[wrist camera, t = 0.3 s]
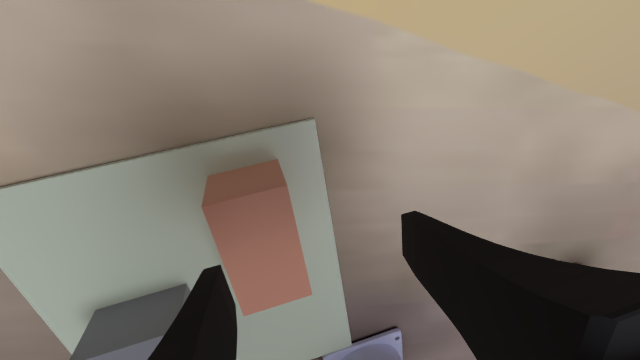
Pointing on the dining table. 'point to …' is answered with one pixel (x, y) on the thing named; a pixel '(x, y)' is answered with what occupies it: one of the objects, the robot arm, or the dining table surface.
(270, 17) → the dining table surface
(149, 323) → the grey base brick
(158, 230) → the baseplate
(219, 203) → the terracotta brick
